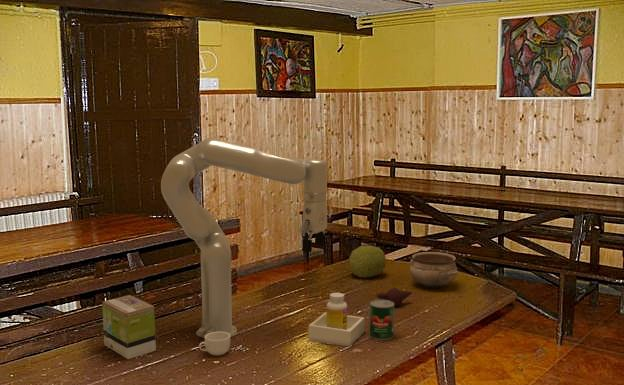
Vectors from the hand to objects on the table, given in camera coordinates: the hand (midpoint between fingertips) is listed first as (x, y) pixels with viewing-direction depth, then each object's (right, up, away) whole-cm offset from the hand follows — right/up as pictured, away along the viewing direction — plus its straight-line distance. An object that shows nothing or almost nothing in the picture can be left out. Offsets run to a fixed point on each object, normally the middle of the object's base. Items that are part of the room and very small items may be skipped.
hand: (313, 248), depth 219 cm
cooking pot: (+49, -20, +53) cm, 75 cm away
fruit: (+23, -18, +67) cm, 73 cm away
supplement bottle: (+8, -27, -3) cm, 29 cm away
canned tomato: (+22, -28, -2) cm, 36 cm away
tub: (+8, -28, -3) cm, 29 cm away
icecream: (+30, -24, +28) cm, 48 cm away
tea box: (-57, -30, -14) cm, 65 cm away
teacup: (-30, -31, -17) cm, 46 cm away
